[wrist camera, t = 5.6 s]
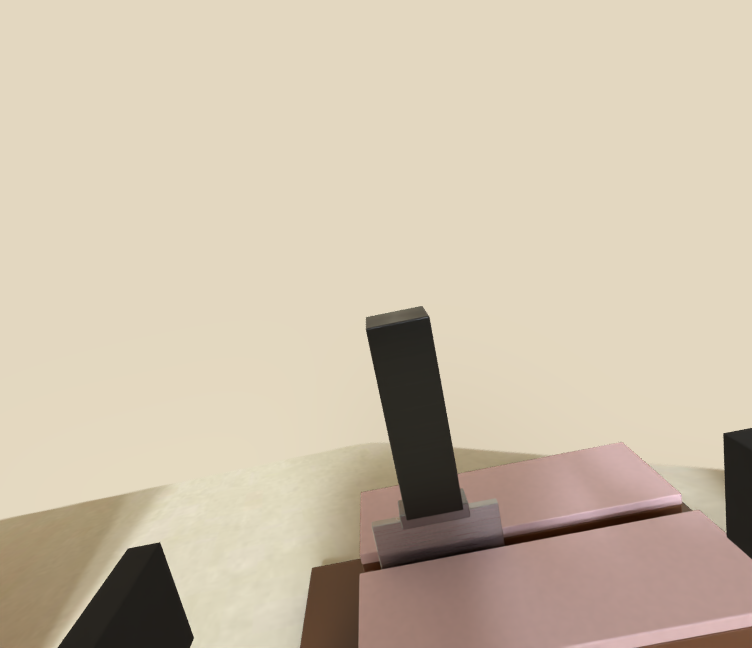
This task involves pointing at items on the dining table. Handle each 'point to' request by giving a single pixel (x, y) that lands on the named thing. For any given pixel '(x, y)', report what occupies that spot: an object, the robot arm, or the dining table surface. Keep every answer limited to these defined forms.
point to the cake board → (337, 605)
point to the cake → (564, 566)
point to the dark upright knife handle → (422, 451)
